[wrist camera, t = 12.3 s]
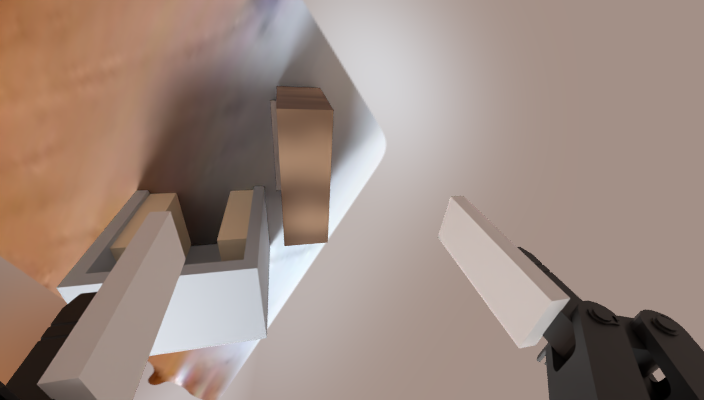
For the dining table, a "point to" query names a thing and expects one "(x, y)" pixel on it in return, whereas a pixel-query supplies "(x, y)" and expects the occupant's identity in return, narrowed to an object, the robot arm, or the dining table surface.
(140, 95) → the dining table surface
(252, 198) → the white storage bin
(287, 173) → the walnut blank
